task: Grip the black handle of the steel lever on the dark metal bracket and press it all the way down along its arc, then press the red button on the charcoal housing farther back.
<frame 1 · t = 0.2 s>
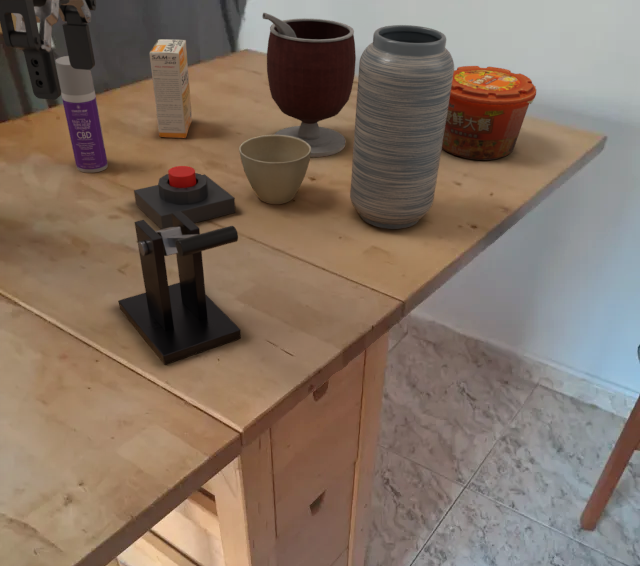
hand: (66, 82, 62), 24 cm above the table, tool pointing down, fingers open, 8 cm apart
vase: (389, 216, 97), on the table
food container: (474, 147, 118), on the table
flower pot: (275, 198, 100), on the table
lever: (185, 241, 65), point 12 cm above the table, hinge at 25.0°
bracket: (179, 323, 76), on the table
container: (92, 167, 106), on the table
button box: (185, 208, 96), on the table
button: (182, 177, 93), point 5 cm above the table, slide at 0.2 cm
mate gourd: (305, 144, 116), on the table
supplement box: (176, 130, 118), on the table
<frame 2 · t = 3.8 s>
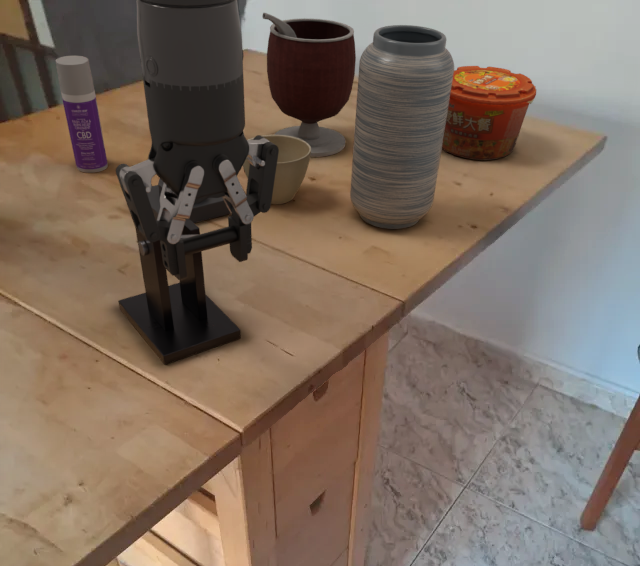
hand: (209, 265, 63), 12 cm above the table, tool pointing down, fingers closed on lever, 5 cm apart
lever: (185, 241, 65), point 12 cm above the table, hinge at 24.9°, touching gripper
everything else where it was.
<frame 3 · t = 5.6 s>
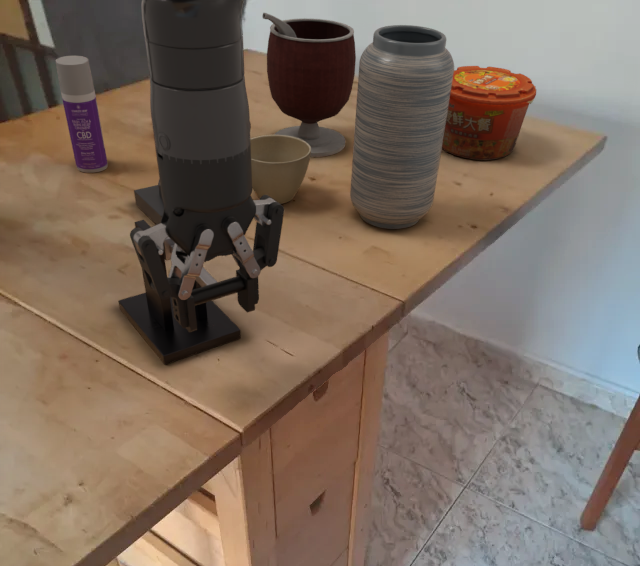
hand: (218, 316, 66), 7 cm above the table, tool pointing down, fingers closed on lever, 5 cm apart
lever: (189, 263, 67), point 10 cm above the table, hinge at -2.6°, touching gripper
everything else where it was.
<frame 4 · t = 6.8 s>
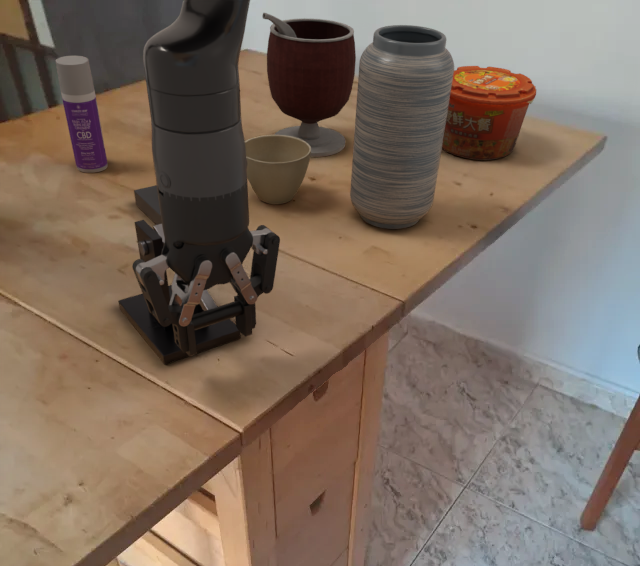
hand: (216, 340, 68), 3 cm above the table, tool pointing down, fingers closed on lever, 5 cm apart
lever: (189, 275, 68), point 8 cm above the table, hinge at -20.8°, touching gripper
everything else where it was.
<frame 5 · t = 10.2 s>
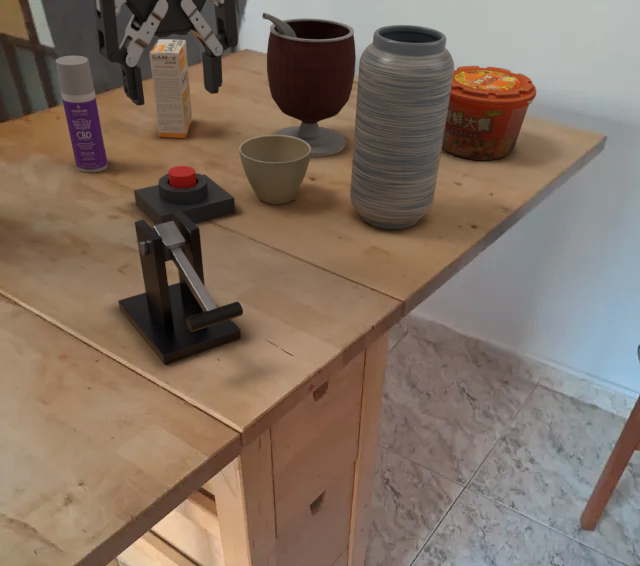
hand: (175, 97, 73), 19 cm above the table, tool pointing down, fingers open, 8 cm apart
lever: (189, 275, 68), point 8 cm above the table, hinge at -21.5°
everything else where it was.
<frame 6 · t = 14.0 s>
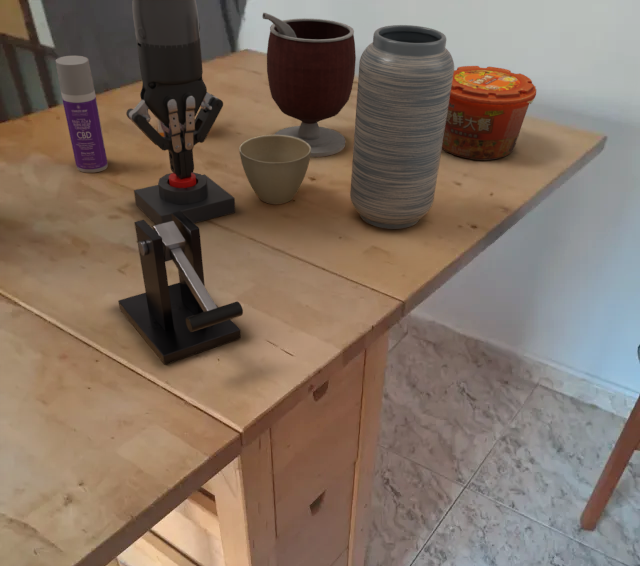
hand: (183, 176, 93), 5 cm above the table, tool pointing down, fingers closed
button: (182, 182, 94), point 4 cm above the table, slide at -0.6 cm, touching gripper
everything else where it was.
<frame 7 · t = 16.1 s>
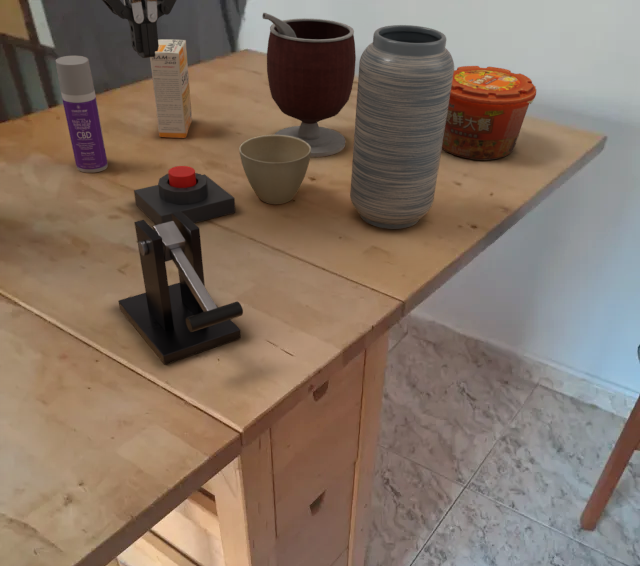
hand: (146, 55, 83), 20 cm above the table, tool pointing down, fingers closed
button: (182, 177, 93), point 5 cm above the table, slide at 0.2 cm
everything else where it was.
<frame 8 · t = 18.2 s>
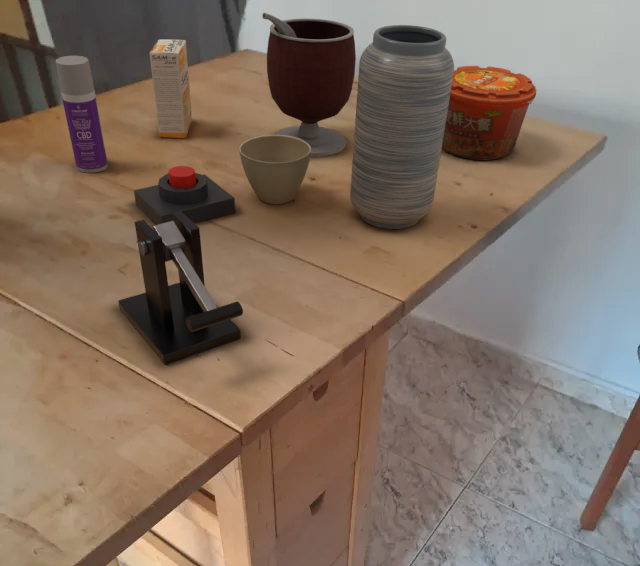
nothing on the table moved.
at the end: lever at -22° (first picture: +25°); button pushed in 1.1 cm at the most during the clip, back to 0.2 cm at the end; button slide at 0.2 cm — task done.
